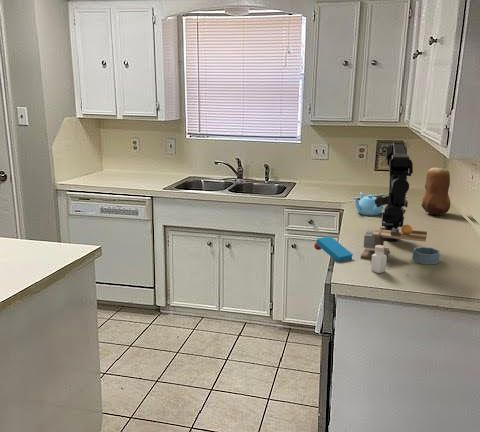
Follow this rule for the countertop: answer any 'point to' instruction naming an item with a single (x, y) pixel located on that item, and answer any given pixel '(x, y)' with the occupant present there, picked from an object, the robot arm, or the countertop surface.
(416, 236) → the tipping lever
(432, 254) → the blue bowl
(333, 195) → the countertop surface
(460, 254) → the countertop surface
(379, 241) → the lever stand
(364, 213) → the teapot
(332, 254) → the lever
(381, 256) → the pepper shaker
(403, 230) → the ball
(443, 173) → the butternut squash
